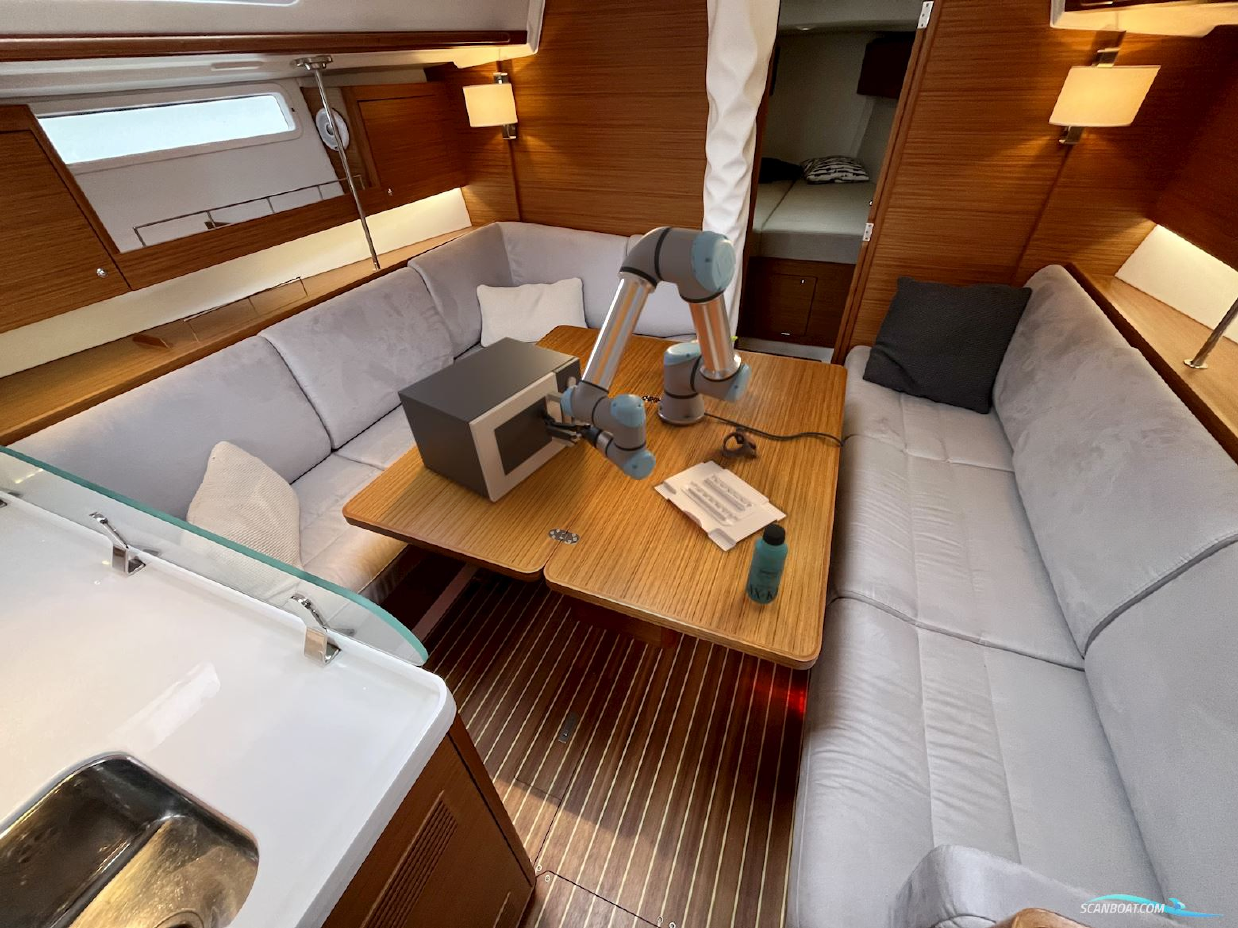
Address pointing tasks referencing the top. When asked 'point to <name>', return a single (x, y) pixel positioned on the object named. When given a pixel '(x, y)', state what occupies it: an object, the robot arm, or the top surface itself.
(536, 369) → the microwave
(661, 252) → the robot arm
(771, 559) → the beverage bottle
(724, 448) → the brown looped piece
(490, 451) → the microwave door
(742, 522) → the tray
